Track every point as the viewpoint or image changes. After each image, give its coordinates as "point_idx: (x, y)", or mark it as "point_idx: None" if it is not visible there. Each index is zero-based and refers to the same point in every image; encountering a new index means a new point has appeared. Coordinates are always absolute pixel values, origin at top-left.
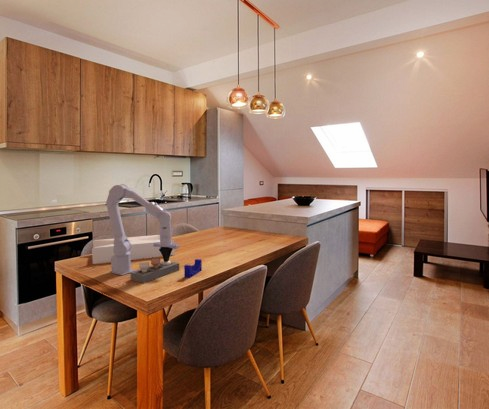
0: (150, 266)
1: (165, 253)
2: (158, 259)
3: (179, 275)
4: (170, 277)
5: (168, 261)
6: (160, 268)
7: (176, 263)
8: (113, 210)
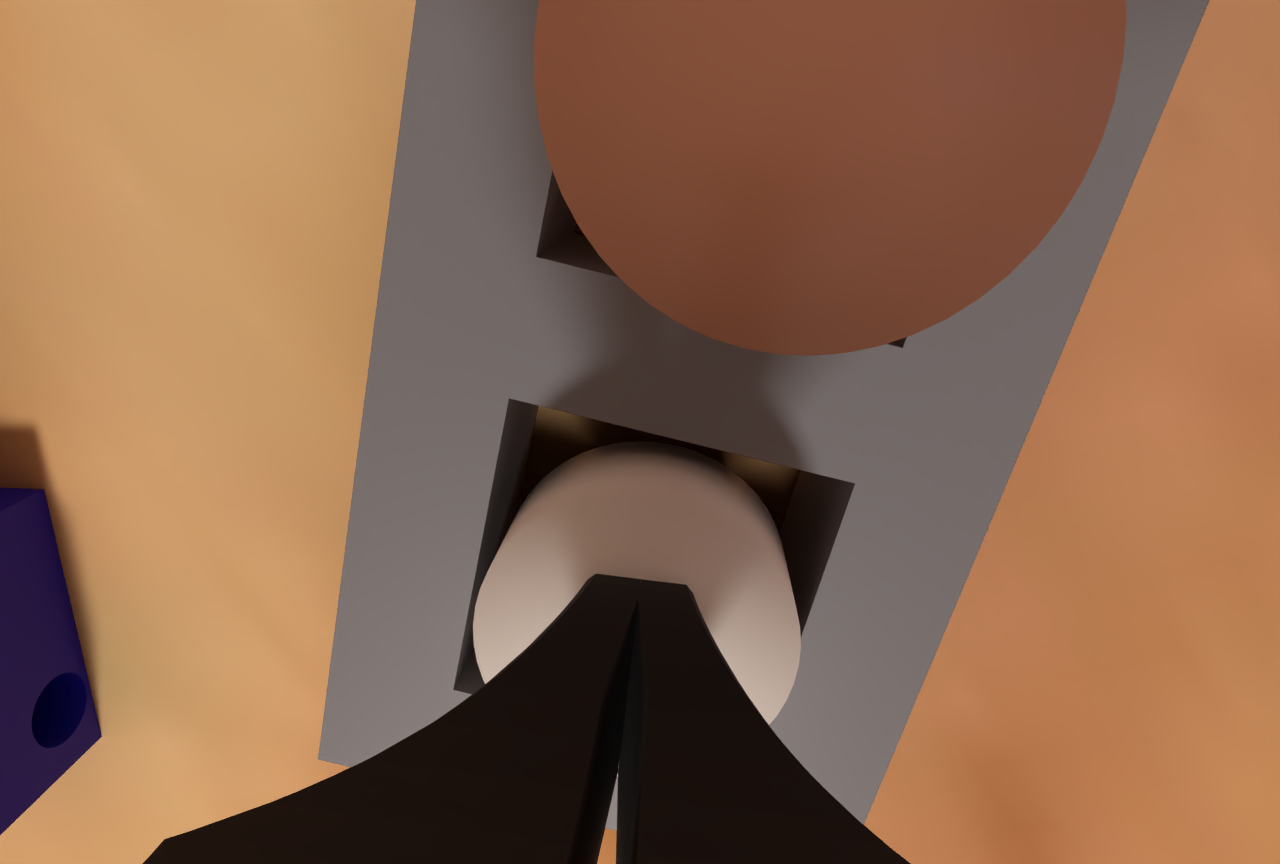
0: None
1: (446, 763)
2: (674, 177)
3: (107, 268)
4: (209, 28)
5: None
6: None
7: (378, 723)
8: None
